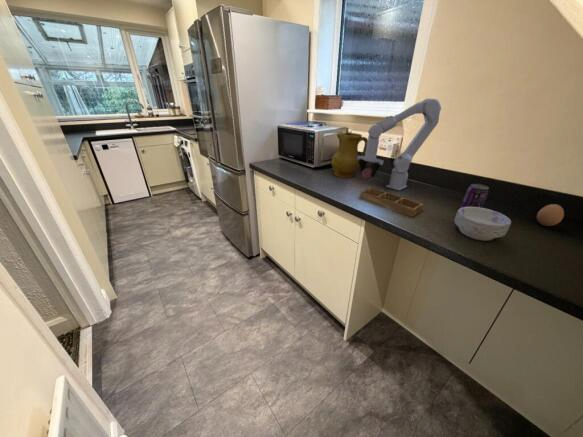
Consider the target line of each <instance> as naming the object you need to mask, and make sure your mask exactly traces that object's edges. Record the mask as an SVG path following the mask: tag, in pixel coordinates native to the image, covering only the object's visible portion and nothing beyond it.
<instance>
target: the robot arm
mask: <svg viewBox="0 0 583 437" xmlns="http://www.w3.org/2000/svg"><path fill="white" fill-rule="evenodd" d="M441 110H442V106H441V102H440V100H439V99H437V98H430V97H429V98H425V99H423V100H422V101H418V102H417V103H415V104H413V105H411V106H409V107H408V108H406V109H404V110H403V111H402V112H400V113H398V114H396V115H394V116H393V115H390V116H388V115H387V116H385V118H384V119H382V120H381V121H379V122H378V121H377V122H375V124H373V125H371V126H370V127H369V129H368V131H367V132H368V136H367V139H368V141H367V147H366V152H365V155H364V156H361V155H359V156H358V158H357V159H358V160H360V161H359V162H358V163H359V165H360V167H359V168H360V174H361V175H362V171H363V170H364V169H366V166H367V163H369V162H370V163H371V169H372V174H371V178H373V177H375V175H376V173H377V171H378V170H379V168H380V167H381V166H382V165H384V161H385V160H383V159H380V158H377V156H378V150H379V144H380V137H381V135H382V134H384V133H386V132H388V131H390V130H392V129H394V128H396V127H397V125H398V123H400V122H402V121H403V120H405V119H407V118H409V117H411V116H414V115H418V114H421V115H423V118H424V119H423V120H424V123H423V125H422V126H421V127H420V128H419V130H418V132H417V133H416V134H415V135H414V137H413V138H412V139H411V141H410V142H409V144H408V145H407V147H406V148H405V150H404V151H402V152H401V153H400V155H398V156H397V157H395V159H394V160H393V162H392V165H393V168H392V169H391V174H390V177H389V183H388V184H386V185H385V188H389V189H391V190H392V189H393V190H395V191H401V190H403V189H405V188H407V187H408V185H407V182H408V178H409V173H408V170H409V168H410V164H411V163H412V161H413V158H414V156H415V155H416V153H417V152H418V151H419V149H420V148H421V147H422V145H423V144H424V143H425V141H426V140H427V139H428V137H429V136H430V135H431V133H432V132H433V131H434V129H435V128H436V127H437V126H438V124H439V120H440V113H441Z"/></svg>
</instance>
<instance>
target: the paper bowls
mask: <svg viewBox="0 0 583 437" xmlns="http://www.w3.org/2000/svg"><path fill="white" fill-rule="evenodd" d="M455 214H456V215H455V216H454V224H455V225H456V226H457V227H458V229H459V231H460V233H461V234H463V235H464V236H466V237H468V238H471V239H474V240H477V241H484V242H485V241H492V240H494V239H497V238H503V237H505V236H506V234H507V233H508V231H509V230H510V229H509V228H510V227H511V225H512V220H511V219H510V217H508V216H506V214H504V213H501V212H499V211H495V210H492V209H489V208H485V207H482V208H480V207H462V208H460V207H459V209H457V212H456V213H455Z"/></svg>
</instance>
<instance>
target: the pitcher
mask: <svg viewBox="0 0 583 437" xmlns="http://www.w3.org/2000/svg"><path fill="white" fill-rule="evenodd" d="M336 137H337V138H338V142H339V143H338V148H337V150H336V152H334V154H333V156H332V158H331V167H332V168H331V169H332V170H333V171H334V173H333V176H335V177H338V178H343V179H348V178H349V179H350V178H353V177H354V176H355V175H354V174H355V173H356V172H357V171H358V170H359V168H360V165H359V163H358V162H359V161H360V160H358V159H357V158H358V156H365V153H366V147H367V141H368V137H365V136H363V135H362V134H360V133H357V132H350V131H349V132H343V133H341V132H340V133H337V134H336ZM361 142H364V146H363V149H362V152H361V155H360V154H359V150H358V147H359V144H360V143H361Z"/></svg>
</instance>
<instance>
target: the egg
mask: <svg viewBox="0 0 583 437" xmlns="http://www.w3.org/2000/svg"><path fill="white" fill-rule="evenodd" d="M564 217H565V211H564V208H563V207H562V206H561V205H559V204H556V203H551V204H548V205H545V206H544V207H542V208H541V209H540V210H538V212H537V214H536V220H537V222H538V223H539V224H540V225H541V226H545V227H553V226H556V225H558V224H559V223H561V222H562V220H563V219H564Z"/></svg>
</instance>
